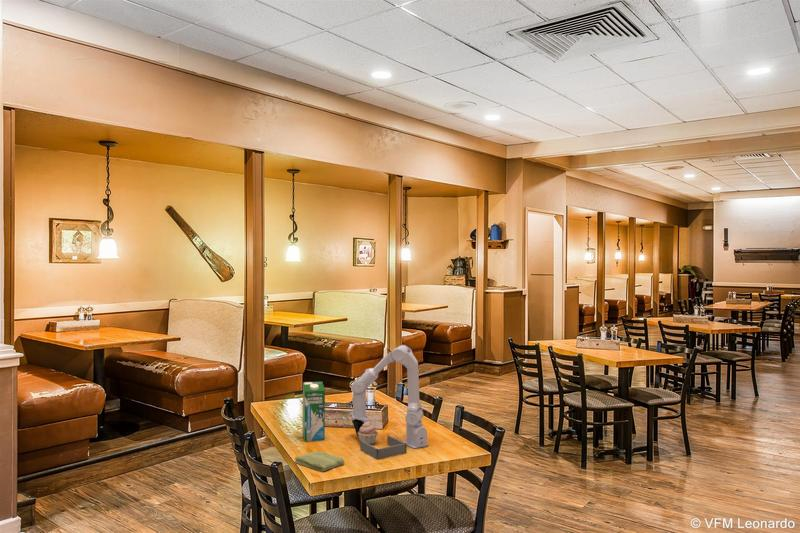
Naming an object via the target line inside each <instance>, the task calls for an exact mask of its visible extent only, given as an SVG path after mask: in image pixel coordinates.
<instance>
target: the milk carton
mask: <svg viewBox="0 0 800 533" xmlns="http://www.w3.org/2000/svg"><path fill="white" fill-rule="evenodd" d="M323 383H324V382H323V381H305V382H304V381H303V383H302V438H303V440H304V442H317V441H319V442H320V441H325V438H326V437H325V434H326V433H325V428H326V427H325V426H326V425H325V424H326V422H325V420H326V418H325V417H326V415H325V414H326V413H325V411H326V409H325V408H326V405H325V404H326V390H325V387H324V384H323Z"/></svg>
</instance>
